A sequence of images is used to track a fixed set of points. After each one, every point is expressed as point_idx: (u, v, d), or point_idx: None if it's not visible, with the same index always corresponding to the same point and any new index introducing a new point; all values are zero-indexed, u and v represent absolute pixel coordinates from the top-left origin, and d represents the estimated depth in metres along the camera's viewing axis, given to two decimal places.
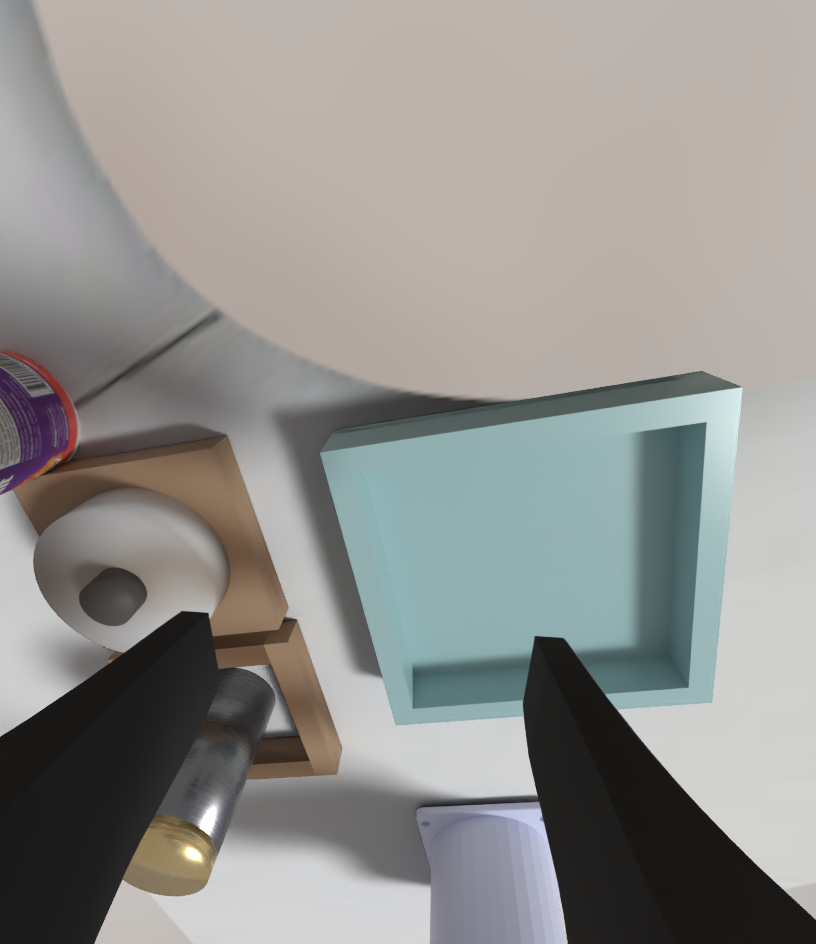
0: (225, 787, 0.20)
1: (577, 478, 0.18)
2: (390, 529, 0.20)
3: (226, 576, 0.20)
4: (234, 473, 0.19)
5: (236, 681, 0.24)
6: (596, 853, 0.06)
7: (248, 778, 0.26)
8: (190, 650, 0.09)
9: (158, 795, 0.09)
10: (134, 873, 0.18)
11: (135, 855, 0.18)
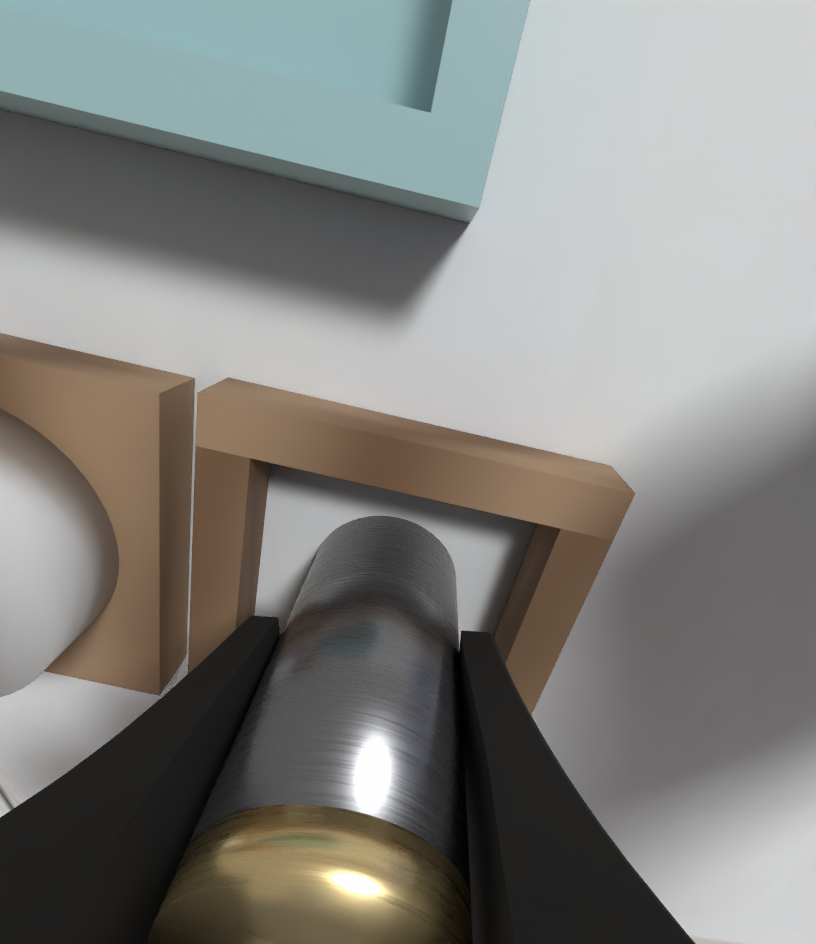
0: (328, 684, 0.07)
1: None
2: None
3: None
4: None
5: (317, 557, 0.12)
6: (484, 843, 0.06)
7: (550, 666, 0.12)
8: (264, 656, 0.09)
9: None
10: None
11: None
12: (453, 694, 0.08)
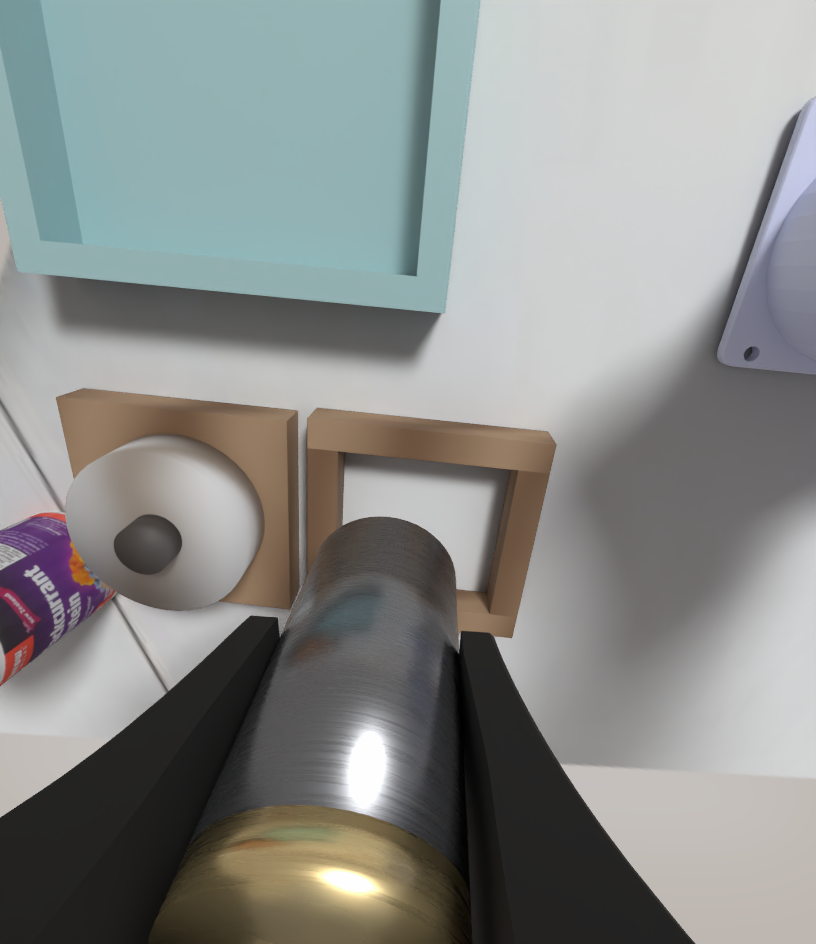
0: (328, 684, 0.07)
1: None
2: (180, 238, 0.16)
3: (196, 444, 0.18)
4: (111, 395, 0.19)
5: (317, 557, 0.12)
6: (484, 843, 0.06)
7: (527, 558, 0.19)
8: (264, 656, 0.09)
9: None
10: None
11: None
12: (453, 695, 0.08)
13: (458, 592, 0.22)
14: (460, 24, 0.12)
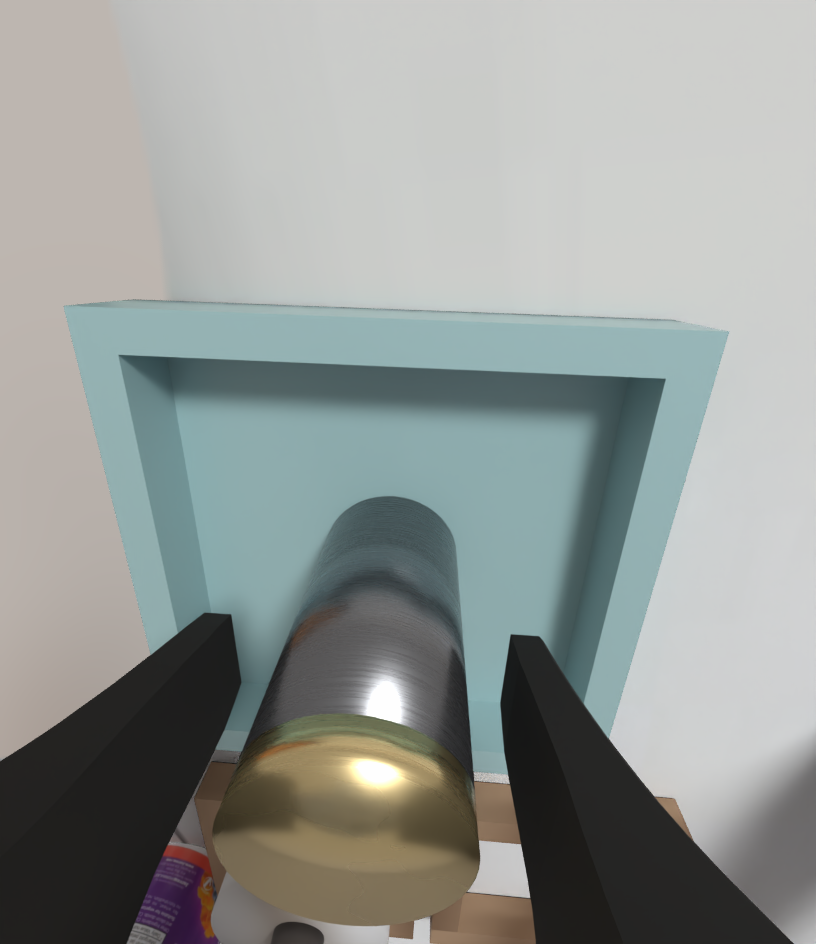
0: (350, 628, 0.09)
1: (265, 477, 0.14)
2: None
3: None
4: None
5: (331, 534, 0.13)
6: (559, 850, 0.06)
7: None
8: (214, 652, 0.09)
9: (184, 797, 0.09)
10: (356, 900, 0.07)
11: (284, 867, 0.07)
12: (456, 641, 0.10)
13: None
14: (630, 604, 0.12)
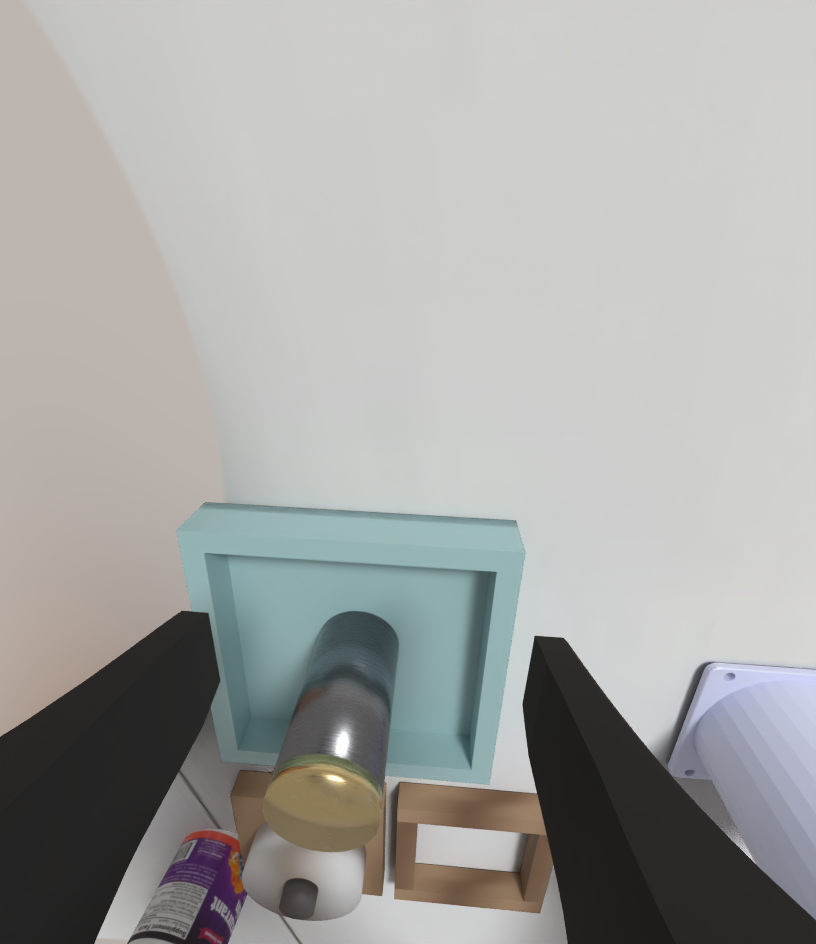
0: (326, 708, 0.17)
1: (281, 599, 0.22)
2: None
3: None
4: (261, 780, 0.28)
5: (321, 635, 0.22)
6: (596, 853, 0.06)
7: (548, 875, 0.28)
8: (190, 650, 0.09)
9: (158, 795, 0.09)
10: (325, 838, 0.16)
11: (293, 822, 0.16)
12: (384, 710, 0.18)
13: (499, 874, 0.31)
14: (495, 681, 0.21)
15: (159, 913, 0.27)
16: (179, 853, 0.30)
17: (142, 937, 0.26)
